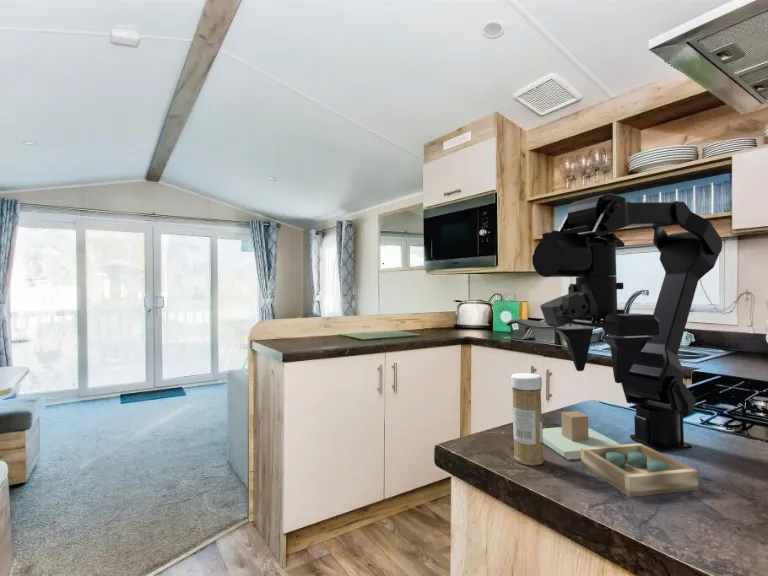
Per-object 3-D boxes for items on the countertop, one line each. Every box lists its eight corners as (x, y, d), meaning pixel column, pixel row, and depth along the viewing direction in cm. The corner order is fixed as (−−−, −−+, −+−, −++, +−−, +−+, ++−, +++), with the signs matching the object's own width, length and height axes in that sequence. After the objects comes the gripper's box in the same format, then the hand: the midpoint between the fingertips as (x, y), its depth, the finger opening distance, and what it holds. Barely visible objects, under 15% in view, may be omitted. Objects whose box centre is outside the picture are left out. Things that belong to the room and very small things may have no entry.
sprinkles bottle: (550, 461, 63) (547, 375, 63) (531, 469, 61) (529, 379, 61) (525, 452, 67) (523, 370, 67) (507, 459, 65) (504, 374, 65)
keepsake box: (640, 459, 63) (639, 443, 63) (698, 489, 53) (697, 470, 53) (581, 464, 62) (580, 448, 62) (629, 497, 52) (629, 477, 52)
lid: (584, 429, 76) (583, 404, 76) (625, 451, 65) (624, 421, 65) (530, 433, 74) (530, 407, 74) (564, 456, 64) (563, 426, 64)
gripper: (519, 279, 72) (521, 368, 72) (586, 275, 53) (589, 394, 53) (577, 278, 73) (579, 365, 73) (661, 273, 55) (665, 389, 55)
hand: (598, 376), depth 64 cm, fingers open, 9 cm apart
